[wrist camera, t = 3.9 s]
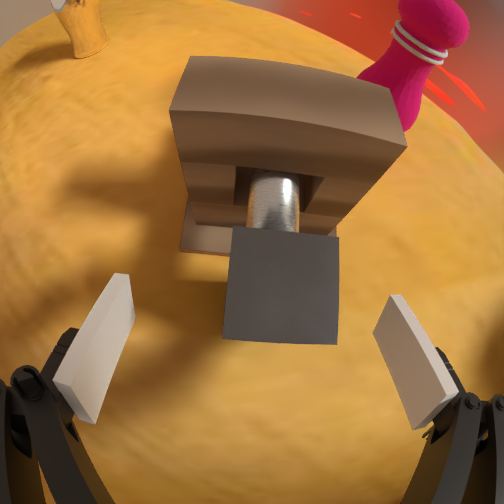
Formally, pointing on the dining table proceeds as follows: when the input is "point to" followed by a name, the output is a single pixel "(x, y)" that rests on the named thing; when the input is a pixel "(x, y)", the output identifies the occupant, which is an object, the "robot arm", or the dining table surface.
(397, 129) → the wooden arch frame
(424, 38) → the pepper mill
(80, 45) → the beer glass
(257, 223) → the metal rod with plate
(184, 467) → the dining table surface
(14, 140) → the dining table surface
